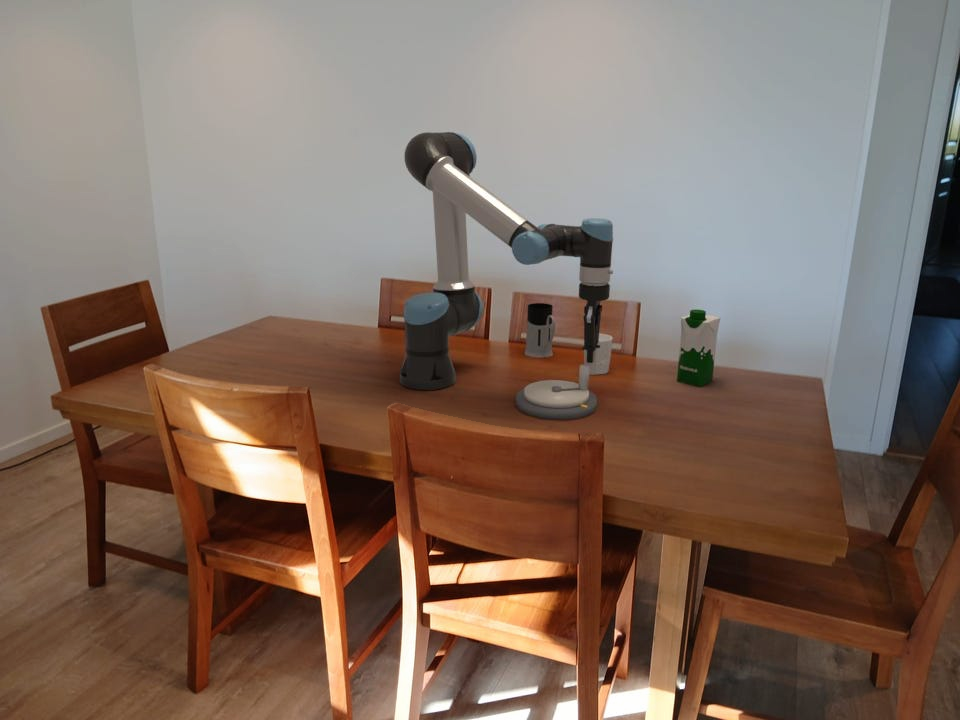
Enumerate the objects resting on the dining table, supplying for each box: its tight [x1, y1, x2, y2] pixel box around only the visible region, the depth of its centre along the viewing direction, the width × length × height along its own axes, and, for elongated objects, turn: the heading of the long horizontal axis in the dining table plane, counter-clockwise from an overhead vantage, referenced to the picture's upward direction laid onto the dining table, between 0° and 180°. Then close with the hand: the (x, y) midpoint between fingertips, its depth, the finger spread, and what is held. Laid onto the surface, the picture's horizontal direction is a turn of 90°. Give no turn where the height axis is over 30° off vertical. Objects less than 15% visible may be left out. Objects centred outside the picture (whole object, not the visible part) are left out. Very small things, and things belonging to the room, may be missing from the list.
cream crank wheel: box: [523, 364, 590, 408], centre depth 179 cm, size 16×16×8 cm
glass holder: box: [524, 302, 556, 359], centre depth 218 cm, size 9×14×15 cm, turn 21°
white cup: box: [583, 333, 613, 375], centre depth 205 cm, size 8×8×10 cm
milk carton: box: [676, 309, 721, 388], centre depth 196 cm, size 9×9×20 cm
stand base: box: [515, 387, 598, 421], centre depth 181 cm, size 20×20×2 cm
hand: (589, 373), depth 186 cm, fingers closed
